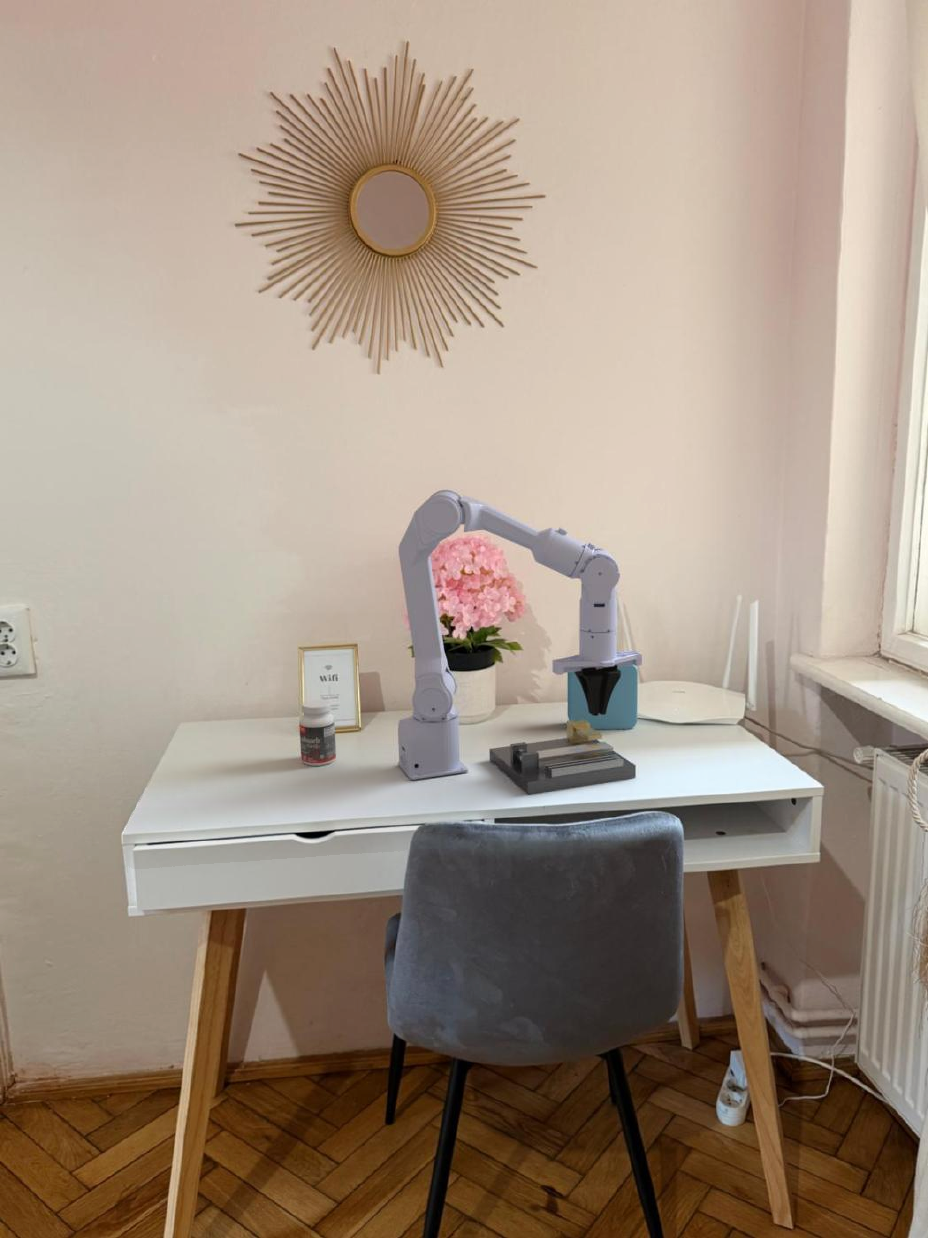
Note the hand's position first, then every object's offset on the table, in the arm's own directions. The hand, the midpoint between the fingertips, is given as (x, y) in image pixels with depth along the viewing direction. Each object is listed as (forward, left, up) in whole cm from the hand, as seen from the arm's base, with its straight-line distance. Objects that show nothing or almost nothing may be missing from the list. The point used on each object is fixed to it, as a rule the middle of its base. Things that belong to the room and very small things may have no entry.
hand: (597, 713), depth 157 cm
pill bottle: (-40, +21, -9) cm, 47 cm away
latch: (+1, +6, -7) cm, 9 cm away
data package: (+11, +19, -9) cm, 24 cm away
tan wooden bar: (-5, 0, -6) cm, 8 cm away
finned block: (-5, +2, -9) cm, 11 cm away
